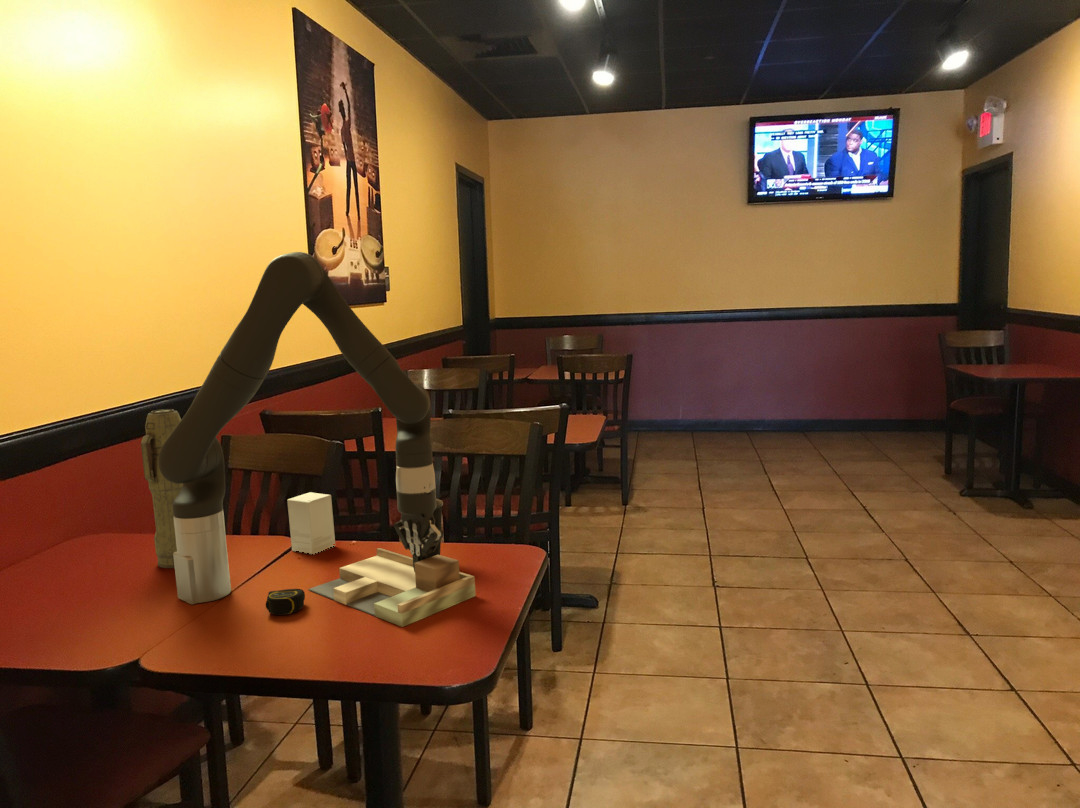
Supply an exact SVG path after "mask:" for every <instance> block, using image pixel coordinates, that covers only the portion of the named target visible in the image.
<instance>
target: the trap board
mask: <svg viewBox="0 0 1080 808" xmlns="http://www.w3.org/2000/svg"><path fill="white" fill-rule="evenodd" d="M338 568H339V571H338V572H339V578H336V579H334V580H333V579H332V580H330V581H328V582H324V583H322V584H319V585H316V586H313V587H310V588H308V591H309V592H312V593H315V594H318V595H320V596H322V597H325V598H328V599H330V600H333V601H335V602H338V603H340V604H342V605H345V606H348V607H349V608H353V609H355V610H358V611H361V612H363V613H366V614H368V615H370V616H373V617H375V618H379V619H381V620H383V621H386V622H389V623H390V624H394V625H396V626H399V627H402V628H404V627H406V626H408V625H410V624H413V623H416V622H418V621H421V620H422V619H425V618H427V617H430V616H432V615H434V614H437V613H439V612H441V611H443V610H446V609H448V608H451V607H453V606H455V605H458V604H460V603H462V602H465V601H468V600H469V599H472V598H475V597H476V582H475V581H476V580H475V579H476V577H475V575H471V574H468V573H464V572H463V571H462V572H461V571H459V574H460V580H458V581H455V582H453V583H450V584H448V585H445V586H443V587H440V588H438V589H435V590H433V591H430V592H427V591H424V590H421V589H418V588H416V580H415V572H414V568H413V557H410V556H408V555H404V554H401V553H397V552H394V551H392V550H388V549H385V548H381V547H379V548H376V555H374V556H372V557H369V558H366V559H362V560H359V561H357V562H353V563H350V564H348V565H344V566H341V567H338Z"/></svg>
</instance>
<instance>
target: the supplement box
mask: <svg viewBox="0 0 1080 808" xmlns="http://www.w3.org/2000/svg"><path fill="white" fill-rule="evenodd" d="M332 503H333V502H332V495H331V494H327V493H326V494H325V493H317V492H312V491H309V492H307V493H302V494H301V495H300V494H299V495H297V496H294V497H291V498H288V499H287V511H288V521H289V531H290V543H291V551H292V552H296V551H299V552H298V553H302V552H304V553H303V554H307V553H309V554H308V555H312V554H313V555H316V554H318V552H319V553H322V552H324V551H326V550H325V549H327V548H329V549H331V548H330V547H332V548H334V547H335V546H336V539H335V538H336V535H335V527H334V526H335V525H334V515H333V504H332ZM333 544H335V545H333ZM333 546H334V547H333ZM323 550H324V551H323ZM327 550H328V549H327ZM321 551H322V552H321ZM315 553H316V554H315Z"/></svg>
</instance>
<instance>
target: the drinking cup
mask: <svg viewBox="0 0 1080 808" xmlns="http://www.w3.org/2000/svg"><path fill="white" fill-rule="evenodd" d="M443 505H444V502H443V500H441V499H438V498H436V509H435V510H434V512H433V516H434V519H435V526H436V528H437V529H438V530H442V519H443V518H442V512H443ZM441 544H442V540H441V541H440V542H439V544H438V546H437V548H436V549H435V551H434V552H431V553H428V554H427V558H430V557H433V556H435V555H441V548H442V547H441Z"/></svg>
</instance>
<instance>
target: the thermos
mask: <svg viewBox="0 0 1080 808" xmlns="http://www.w3.org/2000/svg"><path fill="white" fill-rule="evenodd" d="M145 420H146V421H145V425H144V428H145V435H144V436H142V439H141V442H140V448H141V456H142V457H141V458H142V467H143V475H144V479H145V481H147V482H148V484H147V485H148V489H149V491H150V493H151V497H152V506H153V514H154V523H155V525H154V526H155V534H154V536H153V537H154V538H153V539H154V547H155V556H156V557H157V566H158V567H159V568H162V569H163V568H164V569H175V566H174V557H173V553H174V552H177V546H176V536H175V527H174V517H173V509H172V504H173V501H174V500H175V498H176V497H177V496H178V495H179V493H180V491H181V489H182V486H183V483H173V482H170V481H168V480H167V479H165V478H164V477H163V475H162V474H161V472H160V469H159V464H158V458H159V453H160V450H161V448H162V446H163V444H164V443H165V441H166V440H167V439H168V437H169V436H170V435H171V433H172V432H173V431H174V429H175V428H176V427H177V425H178V424H179V423H180V421H181V420H182V418H181V416H180V413H179V412H178V411H177V410H174V409H172V408H166V409H165V408H164V409H163V408H162V409H156V410H152V411H150V412H149V413H148V414H147V416H146V419H145Z"/></svg>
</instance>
